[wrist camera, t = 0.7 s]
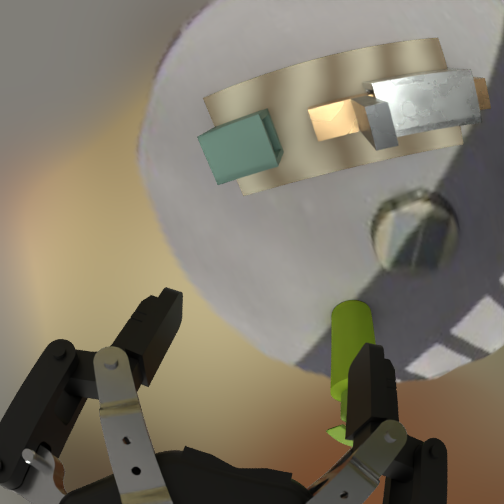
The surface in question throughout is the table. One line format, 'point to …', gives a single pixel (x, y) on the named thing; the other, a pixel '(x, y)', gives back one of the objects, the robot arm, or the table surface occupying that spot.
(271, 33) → the table surface
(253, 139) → the socket block
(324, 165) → the base board
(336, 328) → the soap dispenser
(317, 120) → the inner bar
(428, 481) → the robot arm
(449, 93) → the outer sleeve
